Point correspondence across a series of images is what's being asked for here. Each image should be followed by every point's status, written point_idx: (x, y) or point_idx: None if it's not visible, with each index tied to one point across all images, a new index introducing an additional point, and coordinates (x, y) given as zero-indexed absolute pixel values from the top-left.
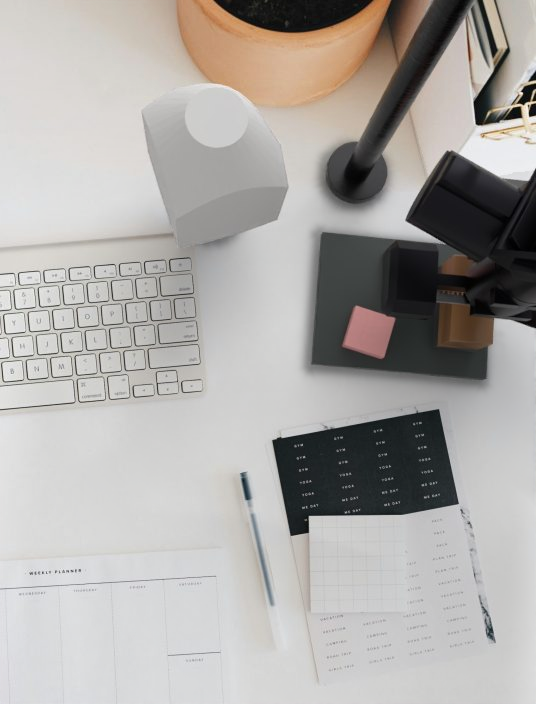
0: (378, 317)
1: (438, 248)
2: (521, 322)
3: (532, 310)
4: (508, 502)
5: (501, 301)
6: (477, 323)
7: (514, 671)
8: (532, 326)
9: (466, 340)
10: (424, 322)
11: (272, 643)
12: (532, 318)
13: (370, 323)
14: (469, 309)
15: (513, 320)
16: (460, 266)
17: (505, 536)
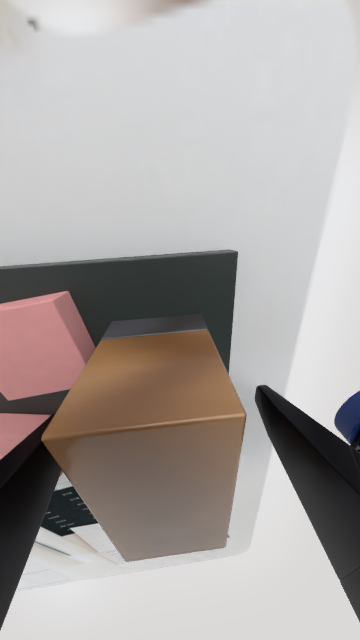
0: (18, 440)
1: (101, 275)
2: (299, 497)
3: (358, 564)
4: (243, 493)
5: None
6: (185, 538)
7: (241, 541)
8: (343, 586)
9: (163, 555)
10: None
11: (80, 562)
12: (351, 579)
13: (10, 449)
14: (158, 528)
15: (275, 449)
16: (88, 467)
17: (239, 506)
